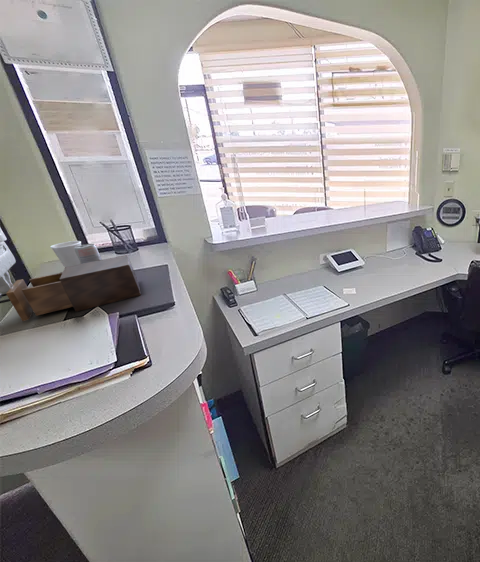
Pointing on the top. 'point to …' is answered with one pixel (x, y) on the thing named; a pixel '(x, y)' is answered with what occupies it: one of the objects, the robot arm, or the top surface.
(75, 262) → the dixie cup
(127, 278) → the cabinet
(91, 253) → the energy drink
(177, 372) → the top surface
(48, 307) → the drawer
